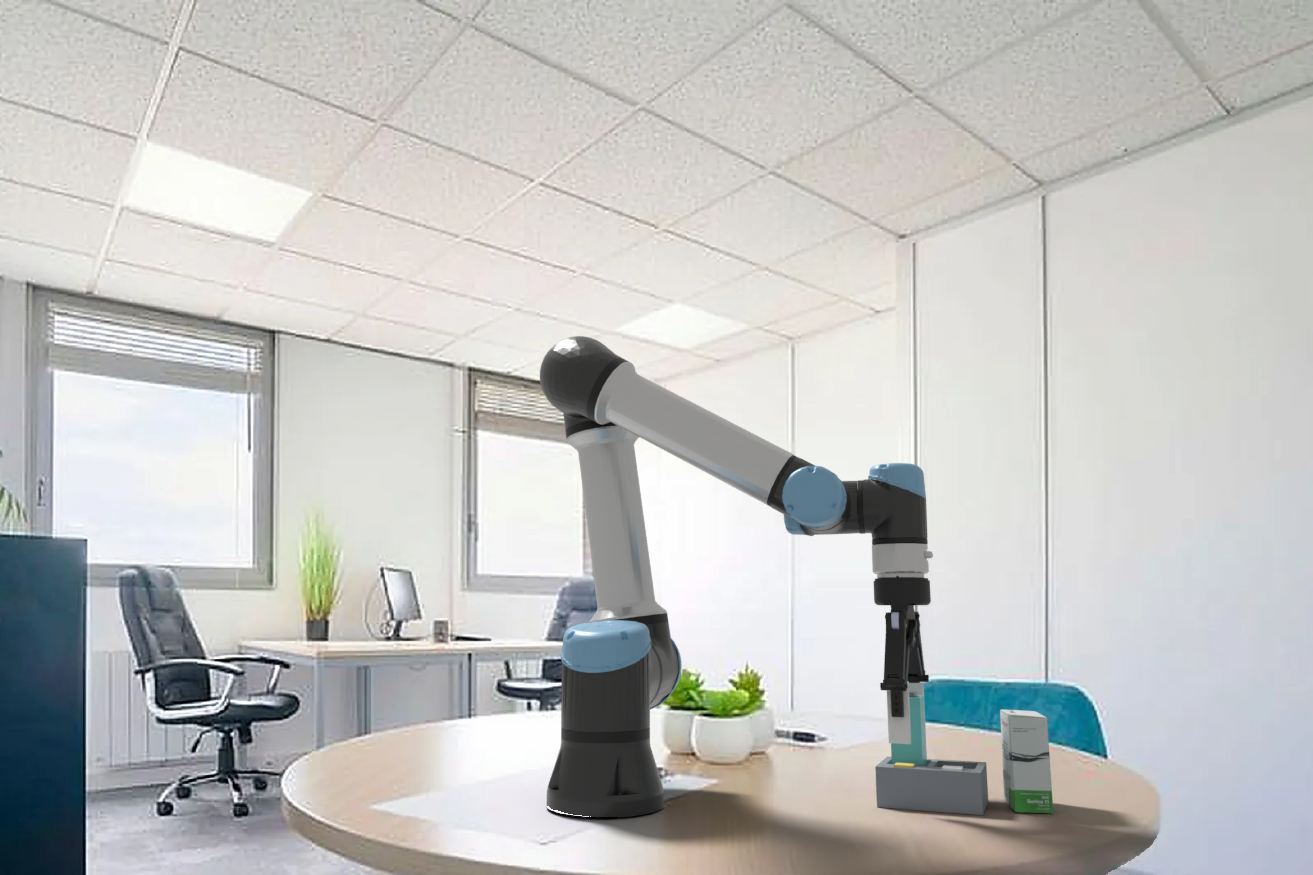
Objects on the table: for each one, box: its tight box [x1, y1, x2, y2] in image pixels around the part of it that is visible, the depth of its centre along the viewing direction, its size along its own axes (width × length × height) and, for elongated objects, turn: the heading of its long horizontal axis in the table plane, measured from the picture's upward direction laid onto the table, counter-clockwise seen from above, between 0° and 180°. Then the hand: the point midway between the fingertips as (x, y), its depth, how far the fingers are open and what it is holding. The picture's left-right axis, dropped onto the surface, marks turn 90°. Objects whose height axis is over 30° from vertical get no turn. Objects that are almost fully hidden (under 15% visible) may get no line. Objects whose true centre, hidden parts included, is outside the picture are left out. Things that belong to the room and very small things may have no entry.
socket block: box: [875, 756, 989, 816], centre depth 129 cm, size 13×9×5 cm
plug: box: [890, 691, 928, 766], centre depth 131 cm, size 4×4×14 cm
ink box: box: [999, 709, 1054, 814], centre depth 127 cm, size 9×5×12 cm, turn 168°
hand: (908, 737), depth 131 cm, fingers open, 13 cm apart
